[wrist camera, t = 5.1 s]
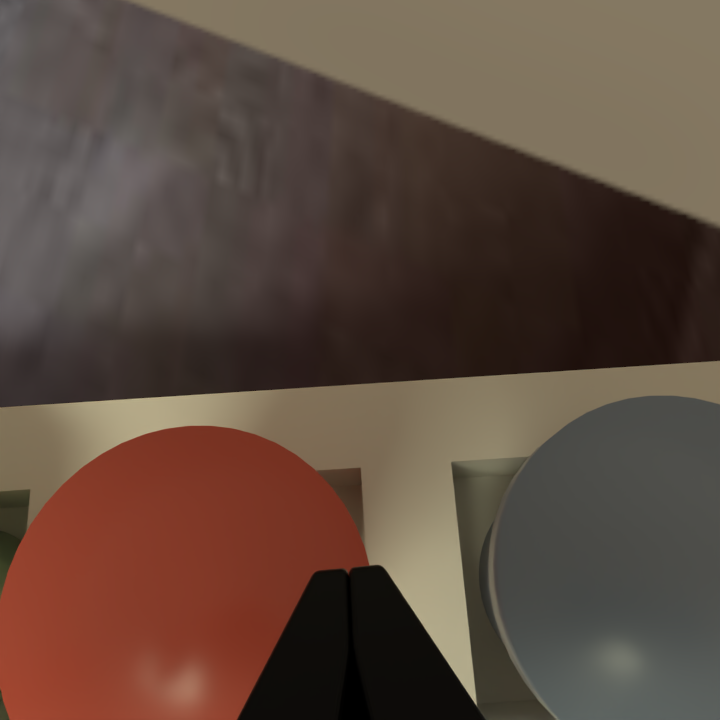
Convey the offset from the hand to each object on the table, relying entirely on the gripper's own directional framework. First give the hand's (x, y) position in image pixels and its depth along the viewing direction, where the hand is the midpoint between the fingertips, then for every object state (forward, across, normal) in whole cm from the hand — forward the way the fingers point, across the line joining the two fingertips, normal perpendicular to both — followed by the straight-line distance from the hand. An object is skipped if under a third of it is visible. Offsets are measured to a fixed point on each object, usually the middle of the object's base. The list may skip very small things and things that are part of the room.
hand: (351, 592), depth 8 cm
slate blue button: (+6, -5, +6) cm, 10 cm away
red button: (+6, +3, +6) cm, 9 cm away
